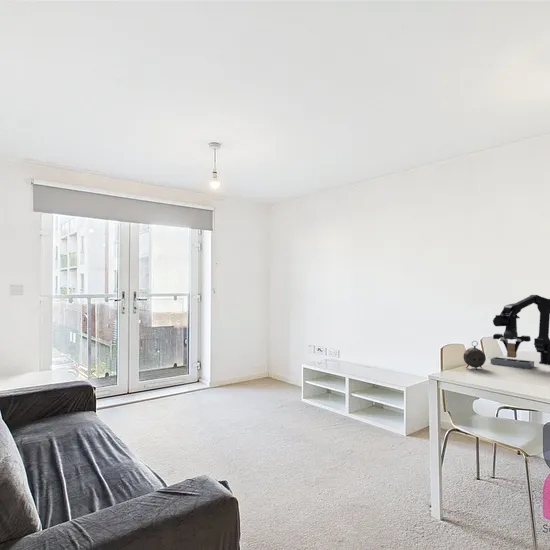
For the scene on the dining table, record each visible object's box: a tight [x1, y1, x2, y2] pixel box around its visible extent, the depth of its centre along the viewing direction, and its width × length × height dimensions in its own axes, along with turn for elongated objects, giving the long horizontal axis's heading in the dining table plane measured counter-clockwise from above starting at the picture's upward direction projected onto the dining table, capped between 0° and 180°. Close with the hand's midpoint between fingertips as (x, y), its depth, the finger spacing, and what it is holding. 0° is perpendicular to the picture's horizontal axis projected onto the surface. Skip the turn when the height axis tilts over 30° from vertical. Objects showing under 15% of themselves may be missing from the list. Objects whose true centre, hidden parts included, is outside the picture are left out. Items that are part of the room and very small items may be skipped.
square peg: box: [506, 342, 517, 359], centre depth 234 cm, size 4×4×8 cm
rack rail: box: [490, 356, 535, 370], centre depth 234 cm, size 21×9×3 cm, turn 46°
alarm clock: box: [463, 340, 487, 370], centre depth 224 cm, size 11×5×16 cm, turn 84°
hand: (511, 351), depth 234 cm, fingers closed on square peg, 4 cm apart
